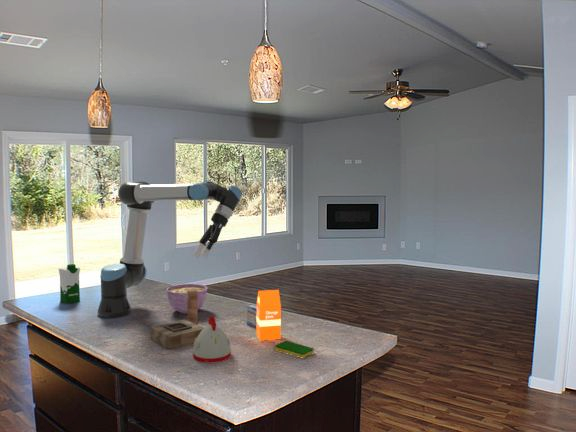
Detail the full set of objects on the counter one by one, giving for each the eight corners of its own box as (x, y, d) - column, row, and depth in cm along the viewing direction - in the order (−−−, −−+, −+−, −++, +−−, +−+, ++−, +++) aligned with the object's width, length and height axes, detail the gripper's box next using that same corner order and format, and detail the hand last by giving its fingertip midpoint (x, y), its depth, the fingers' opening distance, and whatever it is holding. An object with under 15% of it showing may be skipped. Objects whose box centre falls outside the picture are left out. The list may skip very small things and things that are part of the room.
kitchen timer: (197, 365, 168) (197, 323, 167) (189, 352, 180) (189, 313, 179) (235, 359, 173) (235, 319, 172) (225, 347, 186) (225, 309, 185)
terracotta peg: (185, 325, 212) (185, 290, 211) (194, 323, 215) (194, 289, 214) (190, 327, 209) (190, 292, 208) (199, 325, 212) (199, 290, 211)
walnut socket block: (150, 338, 195) (150, 325, 194) (185, 330, 205) (185, 318, 205) (169, 349, 183) (169, 335, 182) (205, 340, 193) (205, 326, 193)
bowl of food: (204, 304, 248) (204, 282, 247) (210, 315, 229) (210, 291, 228) (165, 307, 241) (164, 285, 241) (168, 318, 223) (167, 294, 222)
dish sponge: (285, 346, 189) (285, 340, 189) (314, 354, 180) (314, 348, 180) (274, 351, 183) (274, 345, 183) (302, 359, 175) (303, 353, 174)
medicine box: (246, 324, 215) (246, 305, 214) (253, 322, 218) (253, 304, 217) (258, 328, 209) (258, 309, 209) (265, 326, 213) (265, 307, 212)
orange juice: (256, 335, 200) (256, 288, 199) (276, 333, 203) (276, 287, 201) (259, 341, 193) (260, 293, 191) (280, 339, 195) (281, 291, 193)
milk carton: (66, 304, 245) (65, 266, 243) (57, 301, 250) (56, 264, 249) (82, 301, 252) (81, 264, 251) (73, 298, 257) (72, 262, 256)
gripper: (237, 217, 211) (214, 259, 205) (220, 222, 234) (199, 260, 227) (223, 209, 209) (200, 251, 202) (207, 214, 231) (185, 252, 225)
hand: (199, 256), depth 215 cm, fingers open, 13 cm apart
